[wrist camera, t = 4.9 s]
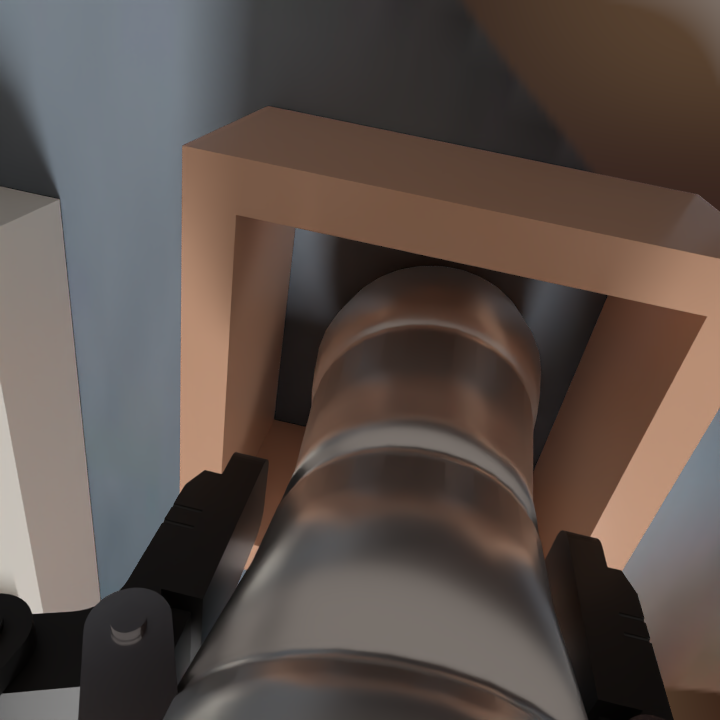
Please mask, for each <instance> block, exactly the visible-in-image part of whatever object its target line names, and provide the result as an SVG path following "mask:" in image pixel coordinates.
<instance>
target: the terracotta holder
mask: <svg viewBox="0 0 720 720" xmlns="http://www.w3.org/2000/svg"><path fill="white" fill-rule="evenodd" d="M295 228H300V229H304V230H309V231H314V232H318V233H323V234H328V235H332V236H337V237H342V238H346V239H351V240H355V241H360V242H365V243H369V244H374V245H379V246H383V247H388V248H392V249H397V250H402V251H406V252H411V253H416V254H420V255H425V256H429V257H434V258H439V259H443V260H448V261H453V262H457V263H462V264H467V265H471V266H476V267H480V268H485V269H490V270H494V271H499V272H504V273H508V274H513V275H517V276H522V277H527V278H531V279H536V280H541V281H545V282H550V283H555V284H559V285H564V286H568V287H573V288H578V289H582V290H587V291H592V292H596V293H601V294H605V295H608V296H607V299H606V301H605V303H604V306H603V308H602V311H601V313H600V315H599V318H598V320H597V322H596V325H595V327H594V329H593V332H592V334H591V337H590V339H589V341H588V344H587V346H586V348H585V351H584V353H583V355H582V358H581V360H580V363H579V365H578V367H577V370H576V372H575V374H574V377H573V379H572V381H571V384H570V386H569V388H568V391H567V393H566V396H565V398H564V400H563V403H562V405H561V407H560V410H559V412H558V414H557V417H556V419H555V422H554V424H553V426H552V429H551V431H550V433H549V436H548V438H547V440H546V443H545V445H544V448H543V450H542V452H541V455H540V457H539V459H538V462H537V464H536V466H535V469H534V471H533V503H534V508H535V513H536V518H537V524H538V531H539V538H540V540H541V544H542V549H543V554H544V559H546V557H547V555H548V553H549V551H550V548H551V546H552V544H553V542H554V540H555V538H556V536H557V534H558V533H559V532H560V531H562V530H564V531H568V532H573V533H577V534H581V535H585V536H589V537H594V538H597V539H599V540H600V542H601V544H602V547H603V551H604V555H605V559H606V563H607V567H609V568H614V569H618V570H621V571H622V570H623V568H624V567H625V565H626V563H627V562H628V560H629V558H630V557H631V555H632V553H633V552H634V550H635V548H636V547H637V545H638V543H639V542H640V540H641V538H642V537H643V535H644V533H645V532H646V530H647V528H648V527H649V525H650V523H651V522H652V520H653V518H654V517H655V515H656V513H657V512H658V510H659V508H660V507H661V505H662V503H663V502H664V500H665V498H666V497H667V495H668V493H669V491H670V490H671V488H672V486H673V485H674V483H675V481H676V480H677V478H678V476H679V475H680V473H681V471H682V470H683V468H684V466H685V465H686V463H687V461H688V460H689V458H690V456H691V455H692V453H693V451H694V450H695V448H696V446H697V445H698V443H699V441H700V440H701V438H702V436H703V435H704V433H705V431H706V430H707V428H708V426H709V425H710V423H711V421H712V420H713V418H714V416H715V415H716V413H717V411H718V410H719V408H720V212H719V211H718V210H716V209H715V208H714V207H713V206H712V205H710V204H709V203H708V202H707V201H705V200H704V199H703V198H702V197H700V196H699V195H698V194H694V193H689V192H684V191H679V190H674V189H670V188H665V187H660V186H655V185H650V184H645V183H641V182H635V181H631V180H626V179H621V178H616V177H611V176H607V175H602V174H597V173H592V172H587V171H582V170H577V169H572V168H568V167H563V166H558V165H553V164H548V163H543V162H538V161H534V160H529V159H524V158H519V157H514V156H509V155H504V154H500V153H495V152H490V151H485V150H480V149H475V148H470V147H466V146H461V145H456V144H451V143H446V142H441V141H436V140H431V139H427V138H422V137H417V136H412V135H407V134H402V133H397V132H393V131H388V130H383V129H378V128H373V127H368V126H363V125H359V124H354V123H349V122H344V121H339V120H334V119H329V118H324V117H320V116H315V115H310V114H305V113H300V112H295V111H290V110H286V109H281V108H276V107H271V106H266V107H264V108H262V109H260V110H258V111H256V112H253V113H251V114H249V115H247V116H245V117H243V118H241V119H238V120H236V121H234V122H232V123H230V124H228V125H226V126H223V127H221V128H219V129H217V130H215V131H213V132H210V133H208V134H206V135H204V136H202V137H200V138H198V139H195V140H193V141H191V142H189V143H187V144H185V145H183V146H182V274H181V412H180V492H181V491H182V489H183V487H184V486H185V484H186V483H188V482H189V481H190V480H192V479H193V478H194V477H196V476H197V475H198V474H200V473H201V472H203V471H204V470H207V471H211V472H215V473H219V474H222V473H223V471H224V470H225V468H226V466H227V464H228V462H229V460H230V458H231V457H232V455H233V454H234V453H235V452H238V453H242V454H246V455H251V456H255V457H259V458H263V459H268V461H269V467H268V476H267V485H266V494H265V503H264V511H263V516H262V521H261V525H260V528H259V531H258V534H257V537H256V540H255V542H254V545H253V547H252V550H251V552H250V555H249V557H248V560H247V562H246V565H245V567H244V569H245V570H247V569H248V568H249V566H250V564H251V563H252V561H253V559H254V557H255V554H256V552H257V550H258V548H259V546H260V544H261V542H262V539H263V537H264V535H265V533H266V531H267V529H268V527H269V524H270V522H271V520H272V518H273V516H274V514H275V512H276V509H277V507H278V505H279V504H280V502H281V500H282V497H283V495H284V493H285V490H286V488H287V486H288V484H289V482H290V480H291V477H292V475H293V473H294V471H295V467H296V464H297V460H298V456H299V452H300V448H301V445H302V441H303V437H304V433H305V429H306V427H304V426H300V425H295V424H291V423H287V422H282V421H278V420H274V415H275V406H276V397H277V388H278V379H279V370H280V361H281V352H282V343H283V334H284V325H285V316H286V307H287V298H288V289H289V280H290V271H291V262H292V253H293V244H294V235H295Z"/></svg>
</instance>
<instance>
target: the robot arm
mask: <svg viewBox="0 0 720 720" xmlns="http://www.w3.org/2000/svg"><path fill="white" fill-rule="evenodd" d="M268 467H269V461H268V459H263V458H259V457H255V456H251V455H246V454H242V453H238V452H235V453H234V454H233V455H232V457H231V458H230V460H229V462H228V464H227V466H226V468H225V470H224V471H223V473H222V474H219V473H215V472H211V471H207V470H204V471H203V472H201V473H200V474H198V475H197V476H196V477H194V478H193V479H192V480H190V481H189V482H188V483H186V484H185V486H184V487H183V489H182V491H181V492H180V494H179V496H178V497H177V499H176V501H175V502H174V505H173V507H171V509H170V511H169V512H168V514H167V516H166V517H165V520H164V523H162V524H161V526H160V527H159V529H158V531H157V532H156V534H155V536H154V537H153V539H152V541H151V542H150V544H149V546H148V547H147V549H146V551H145V552H144V554H143V556H142V557H141V559H140V561H139V562H138V564H137V566H136V567H135V569H134V571H133V572H132V574H131V576H130V577H129V579H128V581H127V582H126V583H125V585H124V586H123V587H122V588H121V589H120V590H119V591H117V592H114V593H112V594H110V595H108V596H107V597H105V598H104V599H102V600H101V601H100V602H99V603H98V604H97V605H95V606H94V607H91V608H88V609H84V610H80V611H72V612H56V613H40V614H32V612H31V609H30V607H29V606H28V604H27V603H26V602H25V601H24V600H22V599H21V598H19V597H17V596H14V595H11V594H4V593H0V720H163V718H164V716H165V714H166V712H167V710H168V708H169V706H170V704H171V702H172V700H173V699H174V698H175V696H176V695H178V691H177V685H178V684H179V682H180V680H181V679H182V677H183V675H184V674H185V672H186V671H187V669H188V667H189V666H190V664H191V662H192V661H193V659H194V657H195V656H196V654H197V652H198V651H199V649H200V647H201V646H202V644H203V642H204V641H205V639H206V637H207V636H208V634H209V632H210V631H211V629H212V627H213V626H214V624H215V622H216V621H217V619H218V617H219V616H220V614H221V612H222V611H223V609H224V607H225V606H226V604H227V602H228V601H229V599H230V597H231V596H232V594H233V592H234V591H235V589H236V587H237V585H238V582H239V580H240V577H241V575H242V572H243V570H244V567H245V565H246V562H247V560H248V557H249V555H250V552H251V550H252V547H253V545H254V542H255V540H256V537H257V534H258V531H259V528H260V525H261V521H262V516H263V511H264V503H265V494H266V485H267V476H268ZM545 565H546V570H547V575H548V580H549V586H550V591H551V596H552V601H553V606H554V610H555V613H556V616H557V620H558V623H559V626H560V629H561V633H562V636H563V639H564V642H565V646H566V649H567V652H568V655H569V659H570V662H571V665H572V668H573V672H574V675H575V678H576V682H577V685H578V688H579V691H580V695H581V698H582V701H583V704H584V708H585V711H586V714H587V717H588V720H674V719H673V716H672V713H671V709H670V706H669V702H668V699H667V695H666V692H665V688H664V685H663V681H662V678H661V674H660V671H659V667H658V664H657V660H656V657H655V654H654V650H653V647H652V643H650V642H649V640H650V636H649V633H648V629H647V626H646V623H644V615H643V612H642V608H641V605H640V601H639V598H638V595H637V593H636V591H635V590H634V588H633V587H632V585H631V584H630V583H629V581H628V580H627V578H626V577H625V575H624V574H623V572H622V571H621V570H618V569H614V568H609V567H607V563H606V559H605V555H604V551H603V547H602V544H601V542H600V540H599V539H597V538H594V537H589V536H585V535H581V534H577V533H573V532H568V531H564V530H562V531H560V532H559V533H558V534H557V536H556V538H555V540H554V542H553V544H552V546H551V548H550V551H549V553H548V555H547V557H546V559H545Z"/></svg>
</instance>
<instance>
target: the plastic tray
mask: <svg viewBox="0 0 720 720" xmlns="http://www.w3.org/2000/svg"><path fill="white" fill-rule="evenodd" d="M0 593H4V594H11V595H14V596H17V597H19V598H21V599H22V600H24V601H25V602H26V603H27V604H28V606H29V607H30V609H31V612H32V614H40V613H56V612H72V611H80V610H84V609H88V608H91V607H94V606H95V605H97V604H98V603H99V602H100V591H99V581H98V571H97V562H96V552H95V542H94V532H93V522H92V513H91V503H90V493H89V483H88V473H87V464H86V454H85V444H84V434H83V424H82V415H81V405H80V395H79V385H78V376H77V366H76V356H75V346H74V336H73V327H72V317H71V307H70V297H69V287H68V278H67V268H66V258H65V248H64V238H63V229H62V219H61V209H60V199H56V198H51V197H47V196H42V195H37V194H33V193H28V192H24V191H19V190H15V189H10V188H5V187H1V186H0Z"/></svg>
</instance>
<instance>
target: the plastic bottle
mask: <svg viewBox="0 0 720 720" xmlns="http://www.w3.org/2000/svg"><path fill="white" fill-rule="evenodd" d="M540 384H541V362H540V354H539V350H538V347H537V344H536V342H535V339H534V336H533V334H532V332H531V330H530V329H529V327H528V325H527V324H526V322H525V320H524V319H523V317H522V315H521V314H520V312H519V311H518V309H517V308H516V306H515V305H514V304H513V302H512V301H511V300H510V299H509V298H508V297H507V296H506V295H505V294H504V293H503V292H502V291H501V290H500V289H499V288H498V287H496V286H495V285H493V284H491V283H490V282H488V281H486V280H485V279H483V278H482V277H480V276H477V275H474V274H472V273H469V272H466V271H464V270H461V269H455V268H450V267H444V266H417V267H411V268H406V269H400V270H397V271H394V272H392V273H389V274H387V275H384V276H381V277H379V278H378V279H376V280H375V281H373V282H371V283H370V284H368V285H366V286H365V287H364V288H362V289H361V290H360V291H359V292H358V293H357V294H356V295H355V296H354V297H353V298H352V299H351V300H350V301H349V302H348V303H347V304H346V305H345V306H344V307H343V308H342V309H341V310H340V311H339V312H338V313H337V315H336V316H335V318H334V319H333V320H332V322H331V323H330V325H329V326H328V328H327V329H326V331H325V334H324V336H323V339H322V341H321V344H320V346H319V351H318V356H317V361H316V366H315V371H314V378H313V385H312V406H311V410H310V414H309V418H308V422H307V425H306V429H305V433H304V437H303V441H302V445H301V448H300V452H299V456H298V460H297V464H296V467H295V471H294V473H293V475H292V477H291V480H290V482H289V484H288V486H287V488H286V490H285V493H284V495H283V497H282V500H281V502H280V504H279V505H278V507H277V509H276V512H275V514H274V516H273V518H272V520H271V522H270V524H269V527H268V529H267V531H266V533H265V535H264V537H263V539H262V542H261V544H260V546H259V548H258V550H257V552H256V554H255V557H254V559H253V561H252V563H251V564H250V566H249V568H248V569H247V571H246V573H245V574H244V576H243V578H242V579H241V581H240V583H239V584H238V586H237V588H236V589H235V591H234V592H233V594H232V596H231V597H230V599H229V601H228V602H227V604H226V606H225V607H224V609H223V611H222V612H221V614H220V616H219V617H218V619H217V621H216V622H215V624H214V626H213V627H212V629H211V631H210V632H209V634H208V636H207V637H206V639H205V641H204V642H203V644H202V646H201V647H200V649H199V651H198V652H197V654H196V656H195V657H194V659H193V661H192V662H191V664H190V666H189V667H188V669H187V671H186V672H185V674H184V675H183V677H182V679H181V680H180V682H179V684H178V685H177V691H178V695H176V696H175V698H174V699H173V700H172V702H171V704H170V706H169V708H168V710H167V712H166V714H165V716H164V718H163V720H588V717H587V714H586V711H585V708H584V704H583V701H582V698H581V695H580V691H579V688H578V685H577V682H576V678H575V675H574V672H573V668H572V665H571V662H570V659H569V655H568V652H567V649H566V646H565V642H564V639H563V636H562V633H561V629H560V626H559V623H558V620H557V616H556V613H555V610H554V606H553V601H552V596H551V591H550V586H549V580H548V575H547V570H546V565H545V559H544V554H543V549H542V544H541V540H540V538H539V531H538V524H537V518H536V513H535V508H534V503H533V430H534V426H535V422H536V417H537V412H538V405H539V397H540Z"/></svg>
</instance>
